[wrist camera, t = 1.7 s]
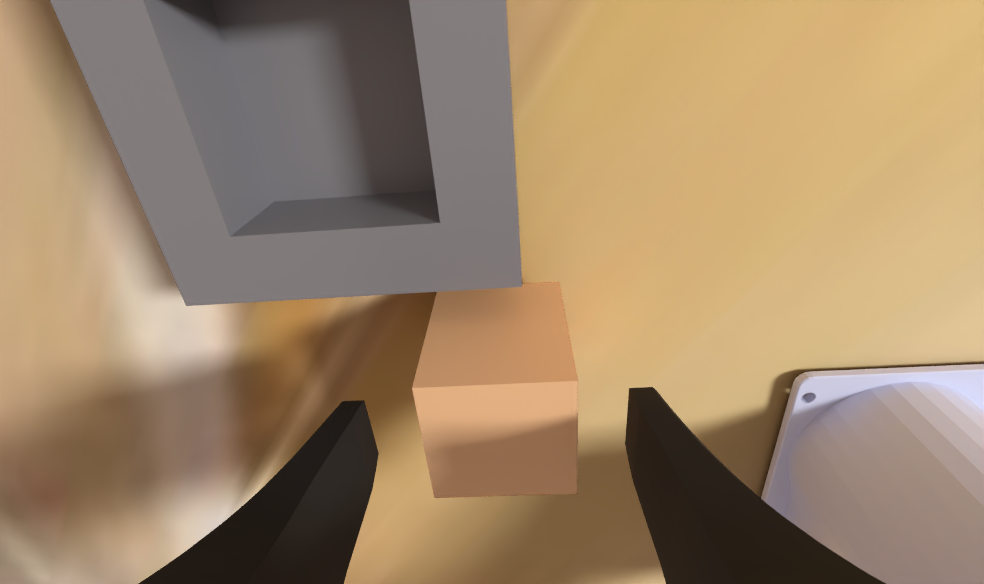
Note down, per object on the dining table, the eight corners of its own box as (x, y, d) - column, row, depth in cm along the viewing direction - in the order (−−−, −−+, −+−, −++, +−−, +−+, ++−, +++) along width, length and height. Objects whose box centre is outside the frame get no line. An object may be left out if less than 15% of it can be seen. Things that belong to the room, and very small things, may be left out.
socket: (519, 235, 17) (522, 287, 13) (245, 252, 17) (186, 305, 14) (498, -132, 12) (495, -184, 9) (122, -90, 13) (-7, -126, 9)
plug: (557, 358, 19) (577, 493, 14) (455, 362, 19) (434, 498, 14) (555, 265, 17) (578, 380, 12) (442, 271, 17) (412, 387, 12)
